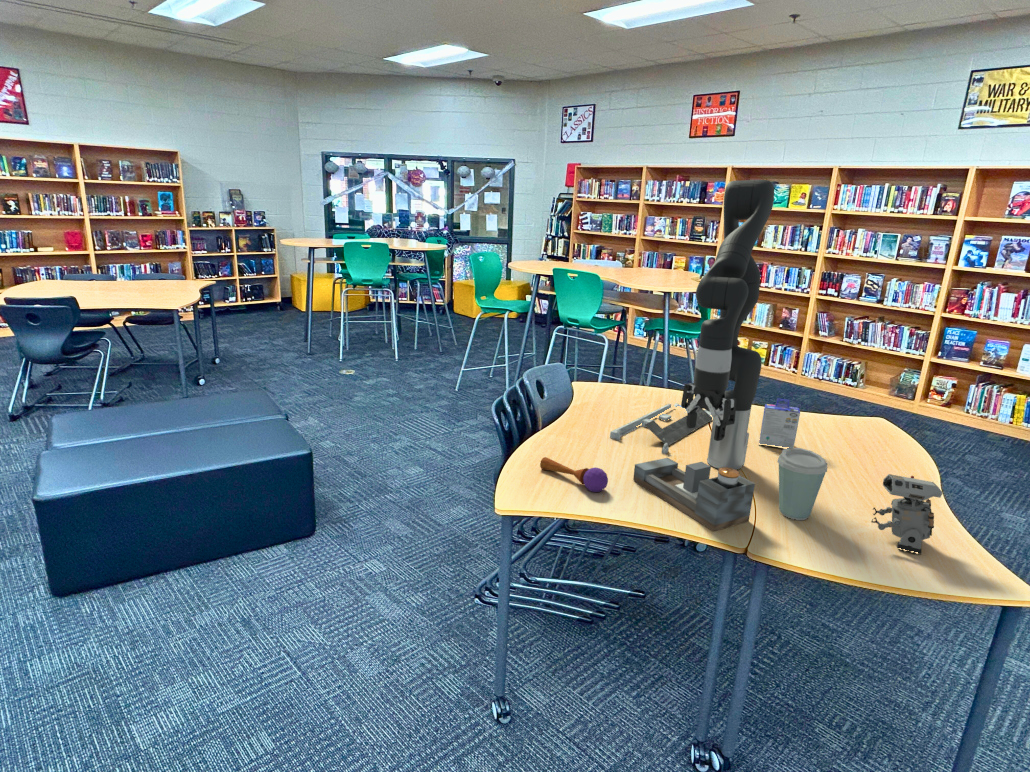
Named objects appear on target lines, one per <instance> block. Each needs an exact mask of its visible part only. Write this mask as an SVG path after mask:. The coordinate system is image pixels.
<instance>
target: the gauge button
mask: <svg viewBox="0 0 1030 772" xmlns="http://www.w3.org/2000/svg"><path fill="white" fill-rule="evenodd" d="M739 475H740V472H739V471H738V470H735V469H732V468H727V467H723V468H720V469H718V472H717V477H718V478H717V484H719V485H721V486H723V487H725V488H727V489H730V488H734V487H737V485H738V479H739Z"/></svg>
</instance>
